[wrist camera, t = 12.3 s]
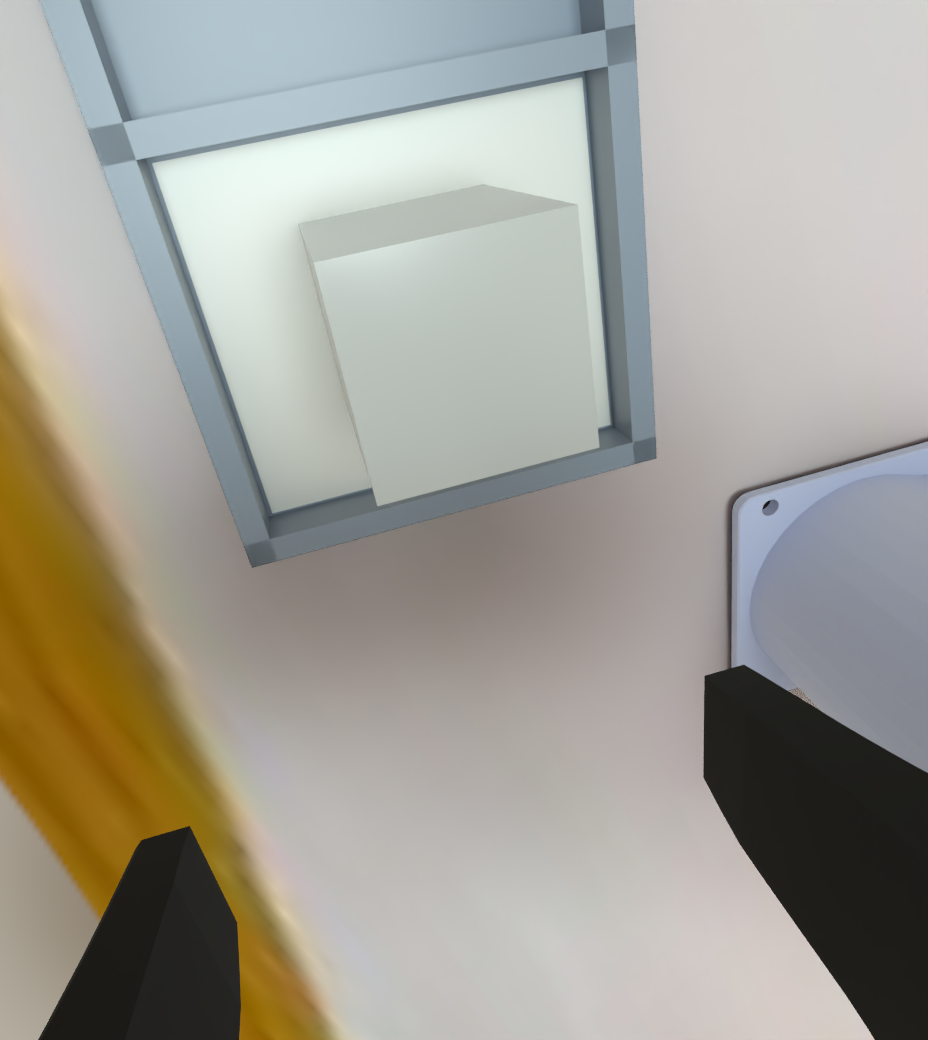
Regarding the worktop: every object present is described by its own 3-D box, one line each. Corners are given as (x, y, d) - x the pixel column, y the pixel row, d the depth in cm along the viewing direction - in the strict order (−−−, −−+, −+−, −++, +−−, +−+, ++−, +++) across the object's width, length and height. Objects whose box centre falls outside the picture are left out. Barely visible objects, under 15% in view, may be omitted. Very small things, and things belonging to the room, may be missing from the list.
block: (483, 184, 16) (577, 204, 11) (509, 364, 18) (599, 447, 13) (298, 223, 15) (313, 262, 11) (346, 404, 17) (377, 506, 13)
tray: (548, -739, 11) (590, -867, 9) (629, 435, 20) (656, 458, 19) (-198, -697, 10) (-274, -838, 8) (252, 535, 19) (251, 567, 17)
